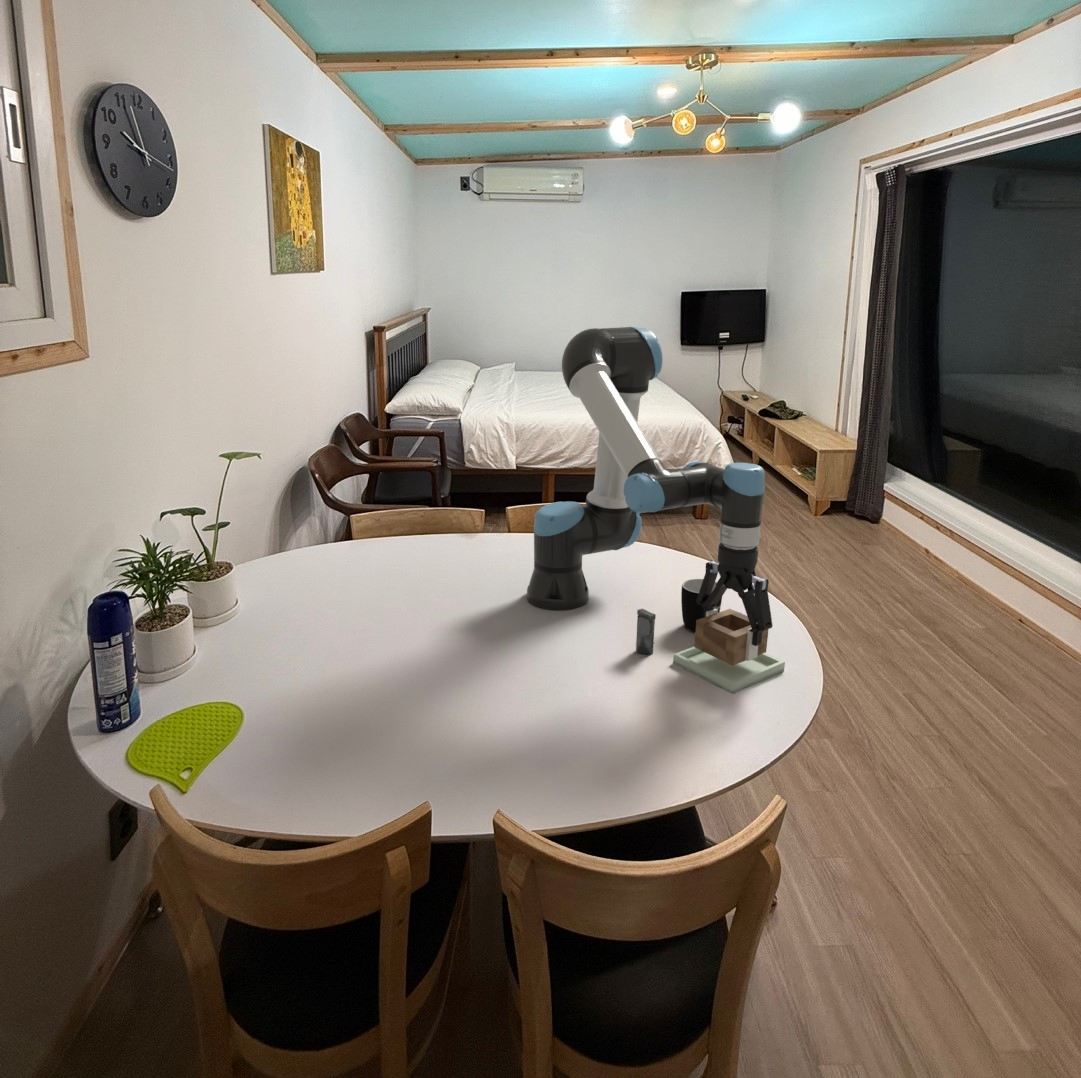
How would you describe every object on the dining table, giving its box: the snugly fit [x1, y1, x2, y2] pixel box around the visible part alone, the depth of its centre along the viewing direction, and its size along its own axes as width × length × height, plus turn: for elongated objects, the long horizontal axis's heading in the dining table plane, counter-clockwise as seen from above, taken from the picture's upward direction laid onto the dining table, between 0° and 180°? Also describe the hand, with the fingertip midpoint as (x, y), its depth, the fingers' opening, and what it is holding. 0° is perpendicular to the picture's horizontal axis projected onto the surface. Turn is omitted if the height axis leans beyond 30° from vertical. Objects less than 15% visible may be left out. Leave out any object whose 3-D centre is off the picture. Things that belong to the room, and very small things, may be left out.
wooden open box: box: [694, 608, 769, 666], centre depth 160 cm, size 10×10×6 cm
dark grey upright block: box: [635, 608, 657, 656], centre depth 168 cm, size 4×4×9 cm
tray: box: [672, 645, 786, 694], centre depth 162 cm, size 16×16×2 cm
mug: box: [680, 578, 723, 634], centre depth 180 cm, size 12×9×10 cm
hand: (729, 648), depth 161 cm, fingers closed on wooden open box, 10 cm apart
